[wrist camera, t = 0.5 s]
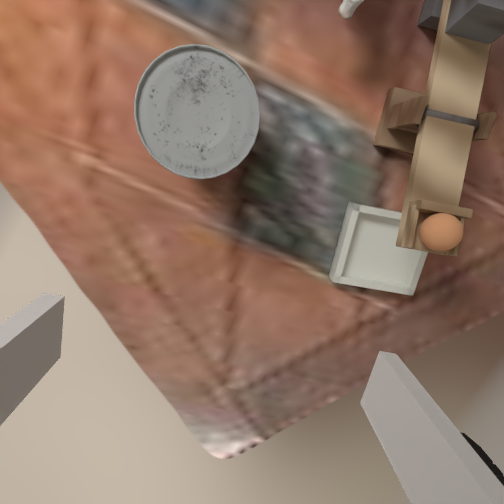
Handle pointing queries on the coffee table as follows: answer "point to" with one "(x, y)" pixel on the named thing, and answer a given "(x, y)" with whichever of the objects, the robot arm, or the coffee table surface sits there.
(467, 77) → the lever
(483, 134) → the fulcrum
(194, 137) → the grey metal can
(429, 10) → the block
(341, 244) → the dish
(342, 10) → the bull figurine
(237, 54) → the coffee table surface
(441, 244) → the ball
